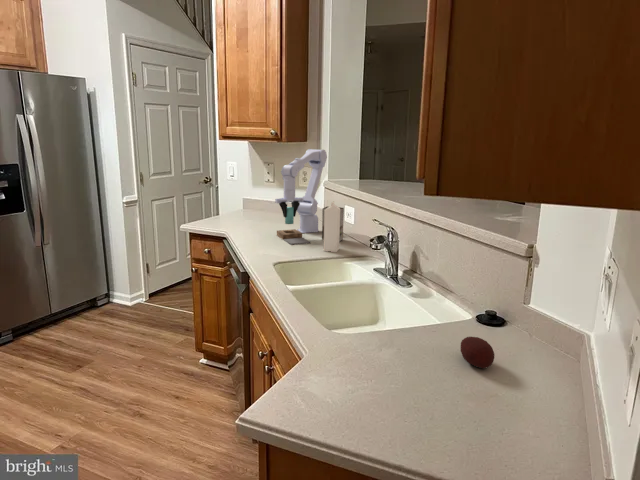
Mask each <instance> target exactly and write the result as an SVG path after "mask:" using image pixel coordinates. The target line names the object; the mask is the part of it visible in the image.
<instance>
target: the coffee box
mask: <svg viewBox="0 0 640 480" xmlns="http://www.w3.org/2000/svg"><path fill="white" fill-rule="evenodd" d="M328 207H329V206H324V207H322V209H321V211H322V212H321V213H322V215H321V216H322V217H321V218H322V219H321V220H322V221H321V222H322V225H321V226H322V227H321V228H322V229H321V240H322V241H324V210H325V209H326V208H328ZM338 207H339V206H338ZM339 208H340V234H339V242H341V241H344V216H345V215H344V214H345V213H344V207H339Z"/></svg>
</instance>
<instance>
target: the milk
mask: <svg viewBox="0 0 640 480" xmlns="http://www.w3.org/2000/svg"><path fill="white" fill-rule="evenodd" d="M339 234H340V208H339V206H337V205H336V204H335V201H332V202H331V203H330V206H328V208H326V209H325V210H324V240H323V252H328V251H331V253H337V252H338V251H339V249H340V241H339Z"/></svg>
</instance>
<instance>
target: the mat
mask: <svg viewBox="0 0 640 480" xmlns="http://www.w3.org/2000/svg"><path fill="white" fill-rule="evenodd" d="M283 241H284V242H286V244H287V243H288V244H289V245H290V246H293V245H294V244H296V245H305V244H306V243H307V244H311V241H310V240H308V239H307V238H305V237H302V238H290V239H284V240H283Z"/></svg>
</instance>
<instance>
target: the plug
mask: <svg viewBox="0 0 640 480" xmlns="http://www.w3.org/2000/svg"><path fill="white" fill-rule="evenodd" d="M294 218H295V217H294V208H293V207H292V206H287V217H284V222H285V223H284V224H285V225H294V220H295V219H294Z"/></svg>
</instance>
